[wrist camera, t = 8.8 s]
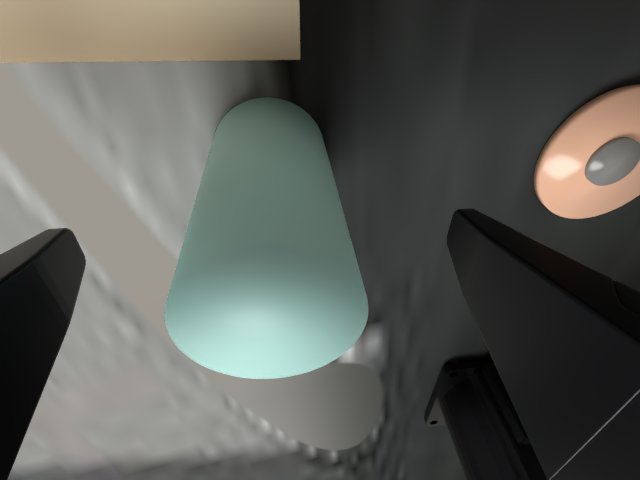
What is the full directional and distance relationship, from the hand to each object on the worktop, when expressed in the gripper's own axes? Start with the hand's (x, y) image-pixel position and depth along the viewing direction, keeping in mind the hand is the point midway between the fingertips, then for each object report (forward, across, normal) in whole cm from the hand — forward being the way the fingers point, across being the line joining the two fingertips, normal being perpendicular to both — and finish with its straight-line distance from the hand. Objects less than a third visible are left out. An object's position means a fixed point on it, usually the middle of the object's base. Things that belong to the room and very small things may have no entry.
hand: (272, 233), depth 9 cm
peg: (+4, 0, 0) cm, 4 cm away
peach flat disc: (+4, -12, 0) cm, 13 cm away
